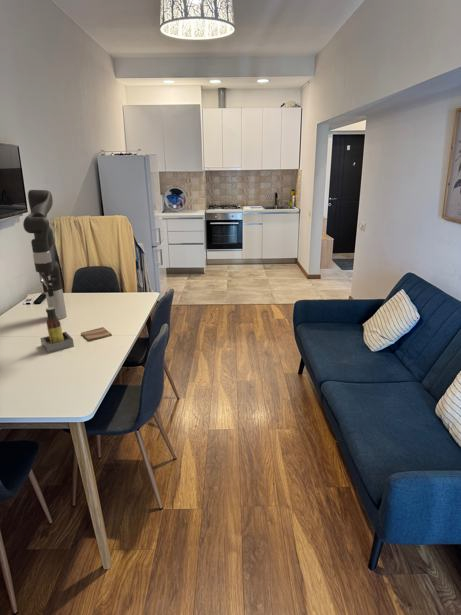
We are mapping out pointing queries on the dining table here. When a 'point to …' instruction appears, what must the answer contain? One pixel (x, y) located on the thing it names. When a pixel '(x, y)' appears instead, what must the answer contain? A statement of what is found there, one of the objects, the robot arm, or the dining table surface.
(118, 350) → the dining table surface
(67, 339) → the grey shallow box
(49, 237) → the robot arm
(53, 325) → the sauce bottle
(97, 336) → the walnut board
